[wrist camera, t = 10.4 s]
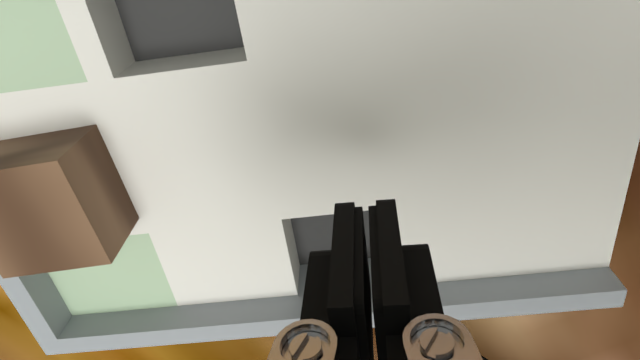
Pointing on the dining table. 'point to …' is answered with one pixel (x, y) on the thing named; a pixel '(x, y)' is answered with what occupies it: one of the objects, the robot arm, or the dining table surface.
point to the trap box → (328, 151)
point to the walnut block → (60, 203)
